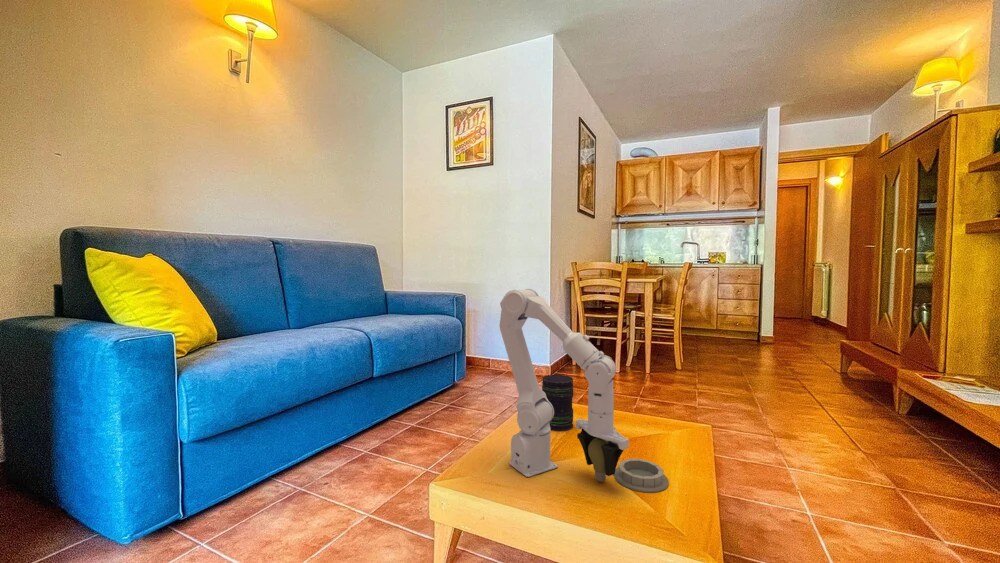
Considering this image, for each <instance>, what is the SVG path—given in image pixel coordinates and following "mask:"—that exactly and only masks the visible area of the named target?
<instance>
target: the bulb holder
mask: <svg viewBox="0 0 1000 563" xmlns="http://www.w3.org/2000/svg"><path fill="white" fill-rule="evenodd" d="M613 476H614V477H615V478H614V479H616V480H615V481H616V482H617V483H618V484H619V485H621V486H622V487H624V488H626V489H629V490H632V491H634V492H640V493H647V494H653V493H654V494H655V493H660V492H663V491H666V490H667V489H668V487H669V485H670V484H669V478H668V476H666V475H665V473H664V470H663V468H662V467H661V466H660V465H659V464H657V463H655V462H652V461H650V460H646V459H642V458H641V459H640V458H628V459H623V460H622V461H620V462H619V464H618V467H616V470H615V474H614V475H613Z"/></svg>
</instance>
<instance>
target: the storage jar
mask: <svg viewBox="0 0 1000 563" xmlns="http://www.w3.org/2000/svg"><path fill="white" fill-rule="evenodd" d="M541 379H542V382H541V383H542V385H541V390H542V391H544V392H545V394H546V397H547V399H548V401H549V402H550V403H551V404H552V406H553V408H554V416H553V418H552V420H551V421H550V432H551V431H552V432H567V431H570V430H572V429H573V428H574V424H573V422H574V409H573V398H574V383H573V382H574V378H573V377H572V376H569V375H563V374H549V375H548V374H547V375H544V376H542V378H541Z"/></svg>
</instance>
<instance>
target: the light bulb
mask: <svg viewBox="0 0 1000 563" xmlns="http://www.w3.org/2000/svg"><path fill="white" fill-rule="evenodd" d="M604 444H608V441H605V440H603V439H601V438H595V439H593V440H592V441H591V442H590V444H589V446H588V453H589V457H590V459H591V461H592V463H593V464H592V465H593V466H592V467H593V470H594V479H595V480H596V481H597V482H598V483H603V482H604V481H606V480H607V479H606V478H607V475H606V473H605V459H604V454H603V451H602V448H601V445H604Z"/></svg>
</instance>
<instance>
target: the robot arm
mask: <svg viewBox="0 0 1000 563" xmlns="http://www.w3.org/2000/svg"><path fill="white" fill-rule="evenodd" d="M499 305H500V308H501V311H500V320H499V330H500V334H501V337H502V341H503V345H504V348H505V350H506V351H505V352H506V354H507V358H508V361H509V364H510V368H511V372H512V375H513V378H514V382H515V384H516V389H517V392H518V398H517V400H516V405H515V407H516V409H517V410H516V411H517V415H516V422H517V425H518V427H519V429H520V431H519V432H516V433H515V434H513V435H512V436H511V441H510V461H509V463H508V464H509V466H511V467H513V468H514V469H515V470H517V471H518V472H520V473H521V474H522V475H523V476H525V477H526V478H529V477H532V476H536V475H539V474H542V473H545V472H548V471H551V470H554V469H558V466H559V465H558V464H556V463H555V462H554V461H552V460H551V430H550V421H551V420H552V418H553V416H554V408H553V406H552V404H551V403H550V402H549V401H548V399H547V397H546V394H545V392H544V391H542V388H540V385H539V382H538V379H537V376H536V375H537V374H536V372H535V369H534V365H533V361H532V358H531V356H530V351H529V347H528V345H527V341H526V338H525V334H524V332H523V326H524V325H525V324H526V322H527V320H528V319H529V318H530V319H533V320H539V321H540V322H541V323H542V324H543V325H544V326H545V327H547V328H548V330H550V331H551V332H552V333H553V334H554V335H555V336H556V337H557V338H558V339H559V340H560V341H561V342H562V348H563V349H562V350H563V351H564V352H565V353H566V354H567V355H568V357H570V358H571V359H572V360H573V361H574V362H575V363H576V364H577V365H578V366H579V367H580V368H581V369H582V370H583V371H584V377H585V379H586V381H587V382H588V389H587V391H588V392H587V396H588V397H587V401H588V402H587V419H583V418H580V419H576V420H575V429H577V430H581V431H580V432H578V433H577V434H576V436H577V439H578V441H579V443H580V445H581V447H582V450H583V453H584V454H583V455H584V459H585V461H586V465H587V466H591V465H593V463H592V461H591V459H590V457H589V453H588V446H589V444H590V442H591V441H592V440H593V439H595V438H601V439H603V440H605V441H608V444H604V445H601V448H602V451H603V454H604V459H605V473H606V477H612V476H614V474H615V470H616V469H617V466H618V462H619V460H620V457H621V455H622V454H623V452H624V451H625V450H627V449H629V448H630V447H629V446H630V445H629V444H630V443H629V441H630V439H628V438H626V437H625V436H623V435H622V434H621V433H619V432H618V431H617V430H616V427H615V426H614V424H615V423H614V420H615V419H614V418H615V416H614V415H615V413H614V409H615V405H614V404H615V401H614V400H615V399H614V398H615V392H614V390H615V389H614V377H615V375H616V372H617V365H616V363H615V361H614V360H613V359H612V357H610V355H606V354H605V353H604V352H603V350H599V349H598V348H597V347H595V346H594V344H592V342H591V341H590V337H589V336H588V334H584V335H583V333H582V332H574V331H573V330H571V328H570V327H569V326H568V325H567V324H566V322H564V321H563V320H562V319H561V317H560V316H559V315H558V314H557V312H555V310H554V309H553V308H552V307H551V306H550V305H549V304H548V303H547V301H546V299H545V298H544V297H542V296H541V295H539V294H538V292H537V291H536V290H534V289H532V288H527V289H518V290H517V289H511V290H509V291H507V292H506V293H505V294H504V296H503V298H502V299H501V301H500V302H499Z"/></svg>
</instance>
